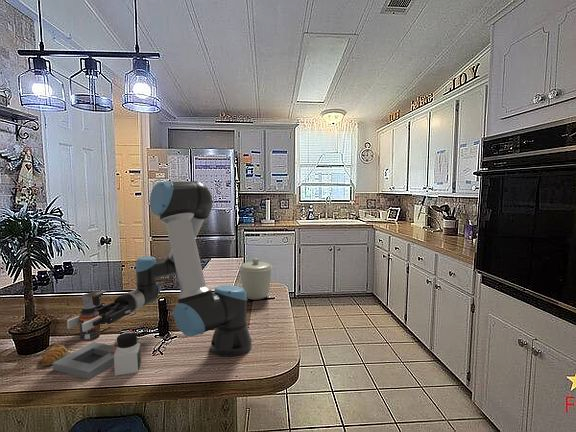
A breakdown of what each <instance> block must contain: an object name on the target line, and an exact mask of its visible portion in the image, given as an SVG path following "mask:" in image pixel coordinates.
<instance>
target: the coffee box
mask: <svg viewBox="0 0 576 432" xmlns="http://www.w3.org/2000/svg"><path fill="white" fill-rule="evenodd" d="M105 292H106V291H101V290H100V291H96V290H93V291H91V292H88V293H85V294H81V295H82V305H83V304H84V306H86V305H95V306H97V305H99V304H100V301H101V295H102V294H103V293H105Z"/></svg>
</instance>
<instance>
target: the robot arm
mask: <svg viewBox="0 0 576 432" xmlns="http://www.w3.org/2000/svg"><path fill="white" fill-rule="evenodd" d="M149 208H150V211H151V213H152V214H153V215H155V216H157V217H158V216H159V219H160V222H161V223H162V224H164V225H165V226H166V230H167V235H168V240H169V244H170V248H171V249H170V251H169V253H168V256H167V258H161V259H156V258H155V257H154V256H149V255H148V256H141V257H139V258H137V259H136V261H135V274H136V275H135V276H136V277H135V278H136V289H134V290H131V291H128V292H126V293H124V294H121V295H118V296H117V297H116V298H115V300H114V301H113V302H112V303H110V304H108V305H105V303H101V304H99V305H97V306H96V309H95V310H96V311H98V312H99V316H98V317H96V318H94V319H91V320H89V321H87V322H84V323H82V332H85V331H87V330H89V329H91V328H94V327H96V326H98V325H100V324H105V323H107V324H111V323H114V322H116V321H118V320H120V319H122V318H124V317H126V316H128V315H129V316H130V315H131V313H133V312H134V311H135V312H136V311H137V310H139V309H141V308H143V307H145V306H147V305H149V304H152V303H154V302H156V301H157V300H158V299H157V297H158V294H159V292H160V291H162V292H163V289H162V287H161V285H160V284H159V283H157V279H160V278H163V277H167V276H173V275H174V276H175V275H176V276H177V281H178V284H179V285H178V286H179V291H180V293H179V295H178V296H177V304H176V305H175V306H174V307H173V320H174V322H175V325H176V327H177V329H178V330H179V331H180V332H181V333H182V334H183V335H184V336H186V337H189V338H191V337H195V336H199V335H203V334H204V333H206V332H209V331H212V330H214V332H213V334H212V338H211V341H210V351H211V352H212V353H213V354H215V355H216V356H220V357H229V358H230V357H231V358H232V357H236V356H237V357H238V356H241V355H243V354H246V353H248V352H249V351H250V350H251V349H252V342H253V341H252V338H251V334H250V332H249V329H248V326H247V325H248V322H247V321H248V320H247V318H248V316H247V314H248V313H247V310H248V309H247V307H248V306H247V305H248V303H247V301H248V298H246V291H245V289H243V288H242V286H237V285H226V284H224V285H218V286H216V287H215V288H214V290H212V289H211V288H210V287H209V286H207V285H206V280H205V276H204V272H203V268H202V263H201V258H200V255H199V254H200V253H199V249H198V246H197V245H198V244H197V241H196V239H197V236H198V234H199V232H200V229H201V228H202V226H203V223H204V221H206V220H207V219H208V218H209V216H210V214H211V212H212V210H213V209H212V208H213V196H212V194H211V191H210V190H209V188H208V187H207V186H205V184H204V183H201V182H200V181H195V180H190V181H183V180H182V181H181V180H179V181H176V180H175V181H173V180H167V181H159V182H157V183H155V184H154V186H153V187H152V189H151V192H150V196H149ZM212 291H213V292H212ZM156 299H157V300H156ZM155 300H156V301H155ZM81 313H82V310H81V311H80V314H81ZM101 317H102V318H101ZM111 319H112V320H111ZM66 326H67V329H68V330H70V329H72V328H74V327H77V326H80V325H79V315H77V316H75V317H72V318H70V319H67V320H66Z"/></svg>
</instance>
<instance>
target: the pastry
mask: <svg viewBox="0 0 576 432" xmlns="http://www.w3.org/2000/svg"><path fill="white" fill-rule="evenodd" d="M68 353H69V350H68V349H67V348H66V347H65V345H62V344H55V345H54V346H53V345H52V346H51V347H50V348H49V349H48V350H46V351H45V353H44V354H43V355H42V358H41V362H40V363H41V365H42V367H44V366H45V367H46V366H53V363H54V362H56V361H58V360H60V359H62V358H64V357H65V356H67V355H68Z"/></svg>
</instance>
